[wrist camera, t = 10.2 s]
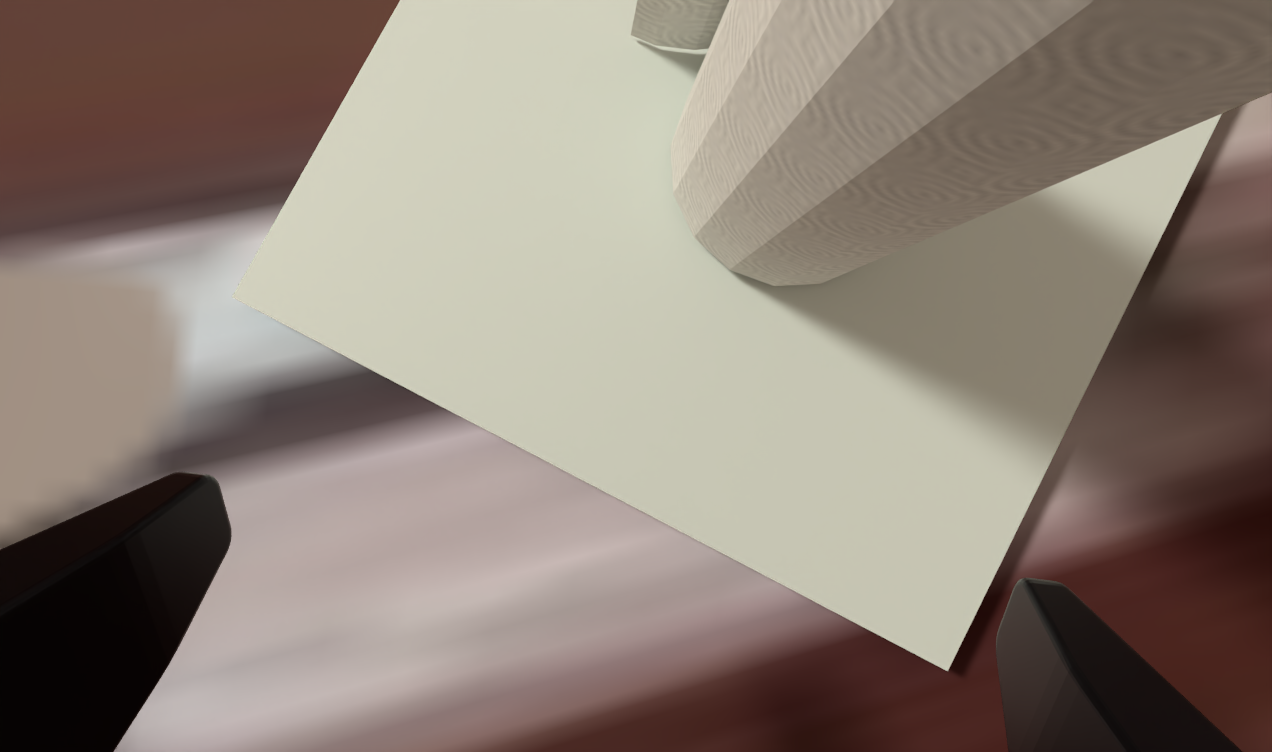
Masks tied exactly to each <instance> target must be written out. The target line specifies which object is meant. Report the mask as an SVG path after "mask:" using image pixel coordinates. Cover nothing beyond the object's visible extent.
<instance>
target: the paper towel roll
mask: <svg viewBox="0 0 1272 752" xmlns="http://www.w3.org/2000/svg"><path fill="white" fill-rule="evenodd" d="M631 35H632V36H634V37H636V38H639V39H641V40H643V41H646V42H648V43H651V44H653V45H656V46H665V47H673V48H682V49H691V50H699V49H708V48H709V49H708V51H707V54H706V56H705V58H704V61H703V63H702V65H701V68H700V70H699V72H698V75H697V77H696V79H695V82H694V84H693V86H692V89H691V91H690V93H689V96H688V98H687V100H686V103H685V106H684V109H683V112H682V114H681V117H680V120H679V123H678V126H677V129H676V131H675V134H674V137H673V140H672V143H671V146H670V147H671V165H672V182H673V194H674V197H675V199H676V201H677V203H678V205H679V207H680V209H681V211H682V213H683V215H684V218H685V220H686V222H687V224H688V226H689V228H690V230H691V232H692V234H693V237H694V238H695V239H696V240H697V241H698V242H700V243H701V244H702V245H703V246H704V247H705V248H706V249H707V250H708V251H709V252H710V253H712V254H713V255H714V256H715V257H716V258H717V259H718V260H719V261H720V262H721V263H722V264H724V265H725V266H726V267H727V268H728V269H729V270H731V271H734V272H737V273H740V274H742V275H745V276H748V277H750V278H753V279H756V280H759V281H761V282H764V283H767V284H770V285H772V286H786V285H808V284H821V283H824V282H826V281H828V280H831V279H833V278H835V277H838V276H840V275H843V274H845V273H847V272H850V271H852V270H854V269H857V268H859V267H861V266H864V265H866V264H868V263H871V262H873V261H876V260H878V259H880V258H883V257H885V256H887V255H890V254H892V253H894V252H897V251H899V250H902V249H904V248H906V247H909V246H911V245H913V244H916V243H918V242H920V241H923V240H925V239H927V238H930V237H932V236H935V235H937V234H939V233H942V232H944V231H946V230H949V229H951V228H953V227H956V226H958V225H960V224H963V223H965V222H968V221H970V220H972V219H975V218H977V217H979V216H982V215H984V214H986V213H989V212H991V211H993V210H996V209H998V208H1001V207H1003V206H1005V205H1008V204H1010V203H1012V202H1015V201H1017V200H1019V199H1022V198H1024V197H1026V196H1029V195H1031V194H1034V193H1036V192H1038V191H1041V190H1043V189H1045V188H1048V187H1050V186H1052V185H1055V184H1057V183H1059V182H1062V181H1064V180H1067V179H1069V178H1071V177H1074V176H1076V175H1078V174H1081V173H1083V172H1085V171H1088V170H1090V169H1092V168H1095V167H1097V166H1100V165H1102V164H1104V163H1107V162H1109V161H1111V160H1114V159H1116V158H1118V157H1121V156H1123V155H1125V154H1128V153H1130V152H1133V151H1135V150H1137V149H1140V148H1142V147H1144V146H1147V145H1149V144H1151V143H1154V142H1156V141H1158V140H1161V139H1163V138H1166V137H1168V136H1170V135H1173V134H1175V133H1177V132H1180V131H1182V130H1184V129H1187V128H1189V127H1191V126H1194V125H1196V124H1199V123H1201V122H1203V121H1206V120H1208V119H1210V118H1213V117H1215V116H1217V115H1220V114H1222V113H1224V112H1227V111H1229V110H1232V109H1234V108H1236V107H1239V106H1241V105H1243V104H1246V103H1248V102H1250V101H1253V100H1255V99H1257V98H1260V97H1262V96H1265V95H1267V94H1269V93H1272V0H637V5H636V10H635V15H634V21H633V26H632V31H631Z"/></svg>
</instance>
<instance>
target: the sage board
mask: <svg viewBox="0 0 1272 752" xmlns="http://www.w3.org/2000/svg"><path fill="white" fill-rule="evenodd" d="M636 5H637V0H400V2H399V3H398V5H397V7H396V9H395V10H394V12H393V14H392V16H391V17H390V19H389V21H388V23H387V25H386V26H385V28H384V30H383V32H382V33H381V35H380V37H379V39H378V40H377V42H376V44H375V46H374V47H373V49H372V51H371V53H370V54H369V56H368V58H367V60H366V62H365V63H364V65H363V67H362V69H361V70H360V72H359V74H358V76H357V77H356V79H355V81H354V83H353V84H352V86H351V88H350V90H349V92H348V93H347V95H346V97H345V99H344V100H343V102H342V104H341V106H340V107H339V109H338V111H337V113H336V114H335V116H334V118H333V120H332V121H331V123H330V125H329V127H328V129H327V130H326V132H325V134H324V136H323V137H322V139H321V141H320V143H319V144H318V146H317V148H316V150H315V151H314V153H313V155H312V157H311V159H310V160H309V162H308V164H307V166H306V167H305V169H304V171H303V173H302V174H301V176H300V178H299V180H298V181H297V183H296V185H295V187H294V188H293V190H292V192H291V194H290V196H289V197H288V199H287V201H286V203H285V204H284V206H283V208H282V210H281V211H280V213H279V215H278V217H277V218H276V220H275V222H274V224H273V226H272V227H271V229H270V231H269V233H268V234H267V236H266V238H265V240H264V241H263V243H262V245H261V247H260V248H259V250H258V252H257V254H256V255H255V257H254V259H253V261H252V263H251V264H250V266H249V268H248V270H247V271H246V273H245V275H244V277H243V278H242V280H241V282H240V284H239V285H238V287H237V289H236V291H235V293H234V294H233V296H232V297H233V298H235V299H237V300H238V301H240V302H242V303H244V304H246V305H248V306H250V307H252V308H254V309H256V310H258V311H260V312H261V313H263V314H265V315H267V316H269V317H271V318H273V319H275V320H277V321H279V322H281V323H282V324H284V325H286V326H288V327H290V328H292V329H294V330H296V331H298V332H300V333H302V334H304V335H305V336H307V337H309V338H311V339H313V340H315V341H317V342H319V343H321V344H323V345H325V346H326V347H328V348H330V349H332V350H334V351H336V352H338V353H340V354H342V355H344V356H346V357H348V358H349V359H351V360H353V361H355V362H357V363H359V364H361V365H363V366H365V367H367V368H369V369H370V370H372V371H374V372H376V373H378V374H380V375H382V376H384V377H386V378H388V379H390V380H392V381H393V382H395V383H397V384H399V385H401V386H403V387H405V388H407V389H409V390H411V391H413V392H414V393H416V394H418V395H420V396H422V397H424V398H426V399H428V400H430V401H432V402H434V403H435V404H437V405H439V406H441V407H443V408H445V409H447V410H449V411H451V412H453V413H455V414H457V415H458V416H460V417H462V418H464V419H466V420H468V421H470V422H472V423H474V424H476V425H478V426H479V427H481V428H483V429H485V430H487V431H489V432H491V433H493V434H495V435H497V436H499V437H501V438H502V439H504V440H506V441H508V442H510V443H512V444H514V445H516V446H518V447H520V448H522V449H523V450H525V451H527V452H529V453H531V454H533V455H535V456H537V457H539V458H541V459H543V460H545V461H546V462H548V463H550V464H552V465H554V466H556V467H558V468H560V469H562V470H564V471H566V472H567V473H569V474H571V475H573V476H575V477H577V478H579V479H581V480H583V481H585V482H587V483H589V484H590V485H592V486H594V487H596V488H598V489H600V490H602V491H604V492H606V493H608V494H610V495H611V496H613V497H615V498H617V499H619V500H621V501H623V502H625V503H627V504H629V505H631V506H632V507H634V508H636V509H638V510H640V511H642V512H644V513H646V514H648V515H650V516H652V517H654V518H655V519H657V520H659V521H661V522H663V523H665V524H667V525H669V526H671V527H673V528H675V529H676V530H678V531H680V532H682V533H684V534H686V535H688V536H690V537H692V538H694V539H696V540H698V541H699V542H701V543H703V544H705V545H707V546H709V547H711V548H713V549H715V550H717V551H719V552H720V553H722V554H724V555H726V556H728V557H730V558H732V559H734V560H736V561H738V562H740V563H742V564H743V565H745V566H747V567H749V568H751V569H753V570H755V571H757V572H759V573H761V574H763V575H764V576H766V577H768V578H770V579H772V580H774V581H776V582H778V583H780V584H782V585H784V586H786V587H787V588H789V589H791V590H793V591H795V592H797V593H799V594H801V595H803V596H805V597H807V598H808V599H810V600H812V601H814V602H816V603H818V604H820V605H822V606H824V607H826V608H828V609H829V610H831V611H833V612H835V613H837V614H839V615H841V616H843V617H845V618H847V619H849V620H851V621H852V622H854V623H856V624H858V625H860V626H862V627H864V628H866V629H868V630H870V631H872V632H873V633H875V634H877V635H879V636H881V637H883V638H885V639H887V640H889V641H891V642H893V643H895V644H896V645H898V646H900V647H902V648H904V649H906V650H908V651H910V652H912V653H914V654H916V655H917V656H919V657H921V658H923V659H925V660H927V661H929V662H931V663H933V664H935V665H937V666H939V667H940V668H942V669H944V670H946V671H948V670H949V668H950V666H951V664H952V661H953V659H954V657H955V655H956V653H957V651H958V649H959V647H960V645H961V643H962V641H963V639H964V637H965V635H966V633H967V631H968V629H969V627H970V625H971V623H972V621H973V619H974V617H975V615H976V613H977V611H978V609H979V607H980V605H981V603H982V601H983V598H984V596H985V594H986V592H987V590H988V588H989V586H990V584H991V582H992V580H993V578H994V576H995V574H996V572H997V570H998V568H999V566H1000V564H1001V562H1002V560H1003V558H1004V556H1005V554H1006V552H1007V550H1008V548H1009V546H1010V544H1011V542H1012V540H1013V537H1014V535H1015V533H1016V531H1017V529H1018V527H1019V525H1020V523H1021V521H1022V519H1023V517H1024V515H1025V513H1026V511H1027V509H1028V507H1029V505H1030V503H1031V501H1032V499H1033V497H1034V495H1035V493H1036V491H1037V489H1038V487H1039V485H1040V483H1041V481H1042V479H1043V476H1044V474H1045V472H1046V470H1047V468H1048V466H1049V464H1050V462H1051V460H1052V458H1053V456H1054V454H1055V452H1056V450H1057V448H1058V446H1059V444H1060V442H1061V440H1062V438H1063V436H1064V434H1065V432H1066V430H1067V428H1068V426H1069V424H1070V422H1071V420H1072V418H1073V416H1074V413H1075V411H1076V409H1077V407H1078V405H1079V403H1080V401H1081V399H1082V397H1083V395H1084V393H1085V391H1086V389H1087V387H1088V385H1089V383H1090V381H1091V379H1092V377H1093V375H1094V373H1095V371H1096V369H1097V367H1098V365H1099V363H1100V361H1101V359H1102V357H1103V355H1104V352H1105V350H1106V348H1107V346H1108V344H1109V342H1110V340H1111V338H1112V336H1113V334H1114V332H1115V330H1116V328H1117V326H1118V324H1119V322H1120V320H1121V318H1122V316H1123V314H1124V312H1125V310H1126V308H1127V306H1128V304H1129V302H1130V300H1131V298H1132V296H1133V294H1134V292H1135V289H1136V287H1137V285H1138V283H1139V281H1140V279H1141V277H1142V275H1143V273H1144V271H1145V269H1146V267H1147V265H1148V263H1149V261H1150V259H1151V257H1152V255H1153V253H1154V251H1155V249H1156V247H1157V245H1158V243H1159V241H1160V239H1161V237H1162V235H1163V233H1164V231H1165V228H1166V226H1167V224H1168V222H1169V220H1170V218H1171V216H1172V214H1173V212H1174V210H1175V208H1176V206H1177V204H1178V202H1179V200H1180V198H1181V196H1182V194H1183V192H1184V190H1185V188H1186V186H1187V184H1188V182H1189V180H1190V178H1191V176H1192V174H1193V172H1194V170H1195V168H1196V165H1197V163H1198V161H1199V159H1200V157H1201V155H1202V153H1203V151H1204V149H1205V147H1206V145H1207V143H1208V141H1209V139H1210V137H1211V135H1212V133H1213V131H1214V129H1215V127H1216V125H1217V123H1218V121H1219V119H1220V117H1221V115H1222V114H1220V115H1217V116H1215V117H1213V118H1210V119H1208V120H1206V121H1203V122H1201V123H1199V124H1196V125H1194V126H1191V127H1189V128H1187V129H1184V130H1182V131H1180V132H1177V133H1175V134H1173V135H1170V136H1168V137H1166V138H1163V139H1161V140H1158V141H1156V142H1154V143H1151V144H1149V145H1147V146H1144V147H1142V148H1140V149H1137V150H1135V151H1133V152H1130V153H1128V154H1125V155H1123V156H1121V157H1118V158H1116V159H1114V160H1111V161H1109V162H1107V163H1104V164H1102V165H1100V166H1097V167H1095V168H1092V169H1090V170H1088V171H1085V172H1083V173H1081V174H1078V175H1076V176H1074V177H1071V178H1069V179H1067V180H1064V181H1062V182H1059V183H1057V184H1055V185H1052V186H1050V187H1048V188H1045V189H1043V190H1041V191H1038V192H1036V193H1034V194H1031V195H1029V196H1026V197H1024V198H1022V199H1019V200H1017V201H1015V202H1012V203H1010V204H1008V205H1005V206H1003V207H1001V208H998V209H996V210H993V211H991V212H989V213H986V214H984V215H982V216H979V217H977V218H975V219H972V220H970V221H968V222H965V223H963V224H960V225H958V226H956V227H953V228H951V229H949V230H946V231H944V232H942V233H939V234H937V235H935V236H932V237H930V238H927V239H925V240H923V241H920V242H918V243H916V244H913V245H911V246H909V247H906V248H904V249H902V250H899V251H897V252H894V253H892V254H890V255H887V256H885V257H883V258H880V259H878V260H876V261H873V262H871V263H868V264H866V265H864V266H861V267H859V268H857V269H854V270H852V271H850V272H847V273H845V274H843V275H840V276H838V277H835V278H833V279H831V280H828V281H826V282H824V283H821V284H808V285H786V286H772V285H770V284H767V283H764V282H761V281H759V280H756V279H753V278H750V277H748V276H745V275H742V274H740V273H737V272H734V271H731V270H729V269H728V268H727V267H726V266H725V265H724V264H722V263H721V262H720V261H719V260H718V259H717V258H716V257H715V256H714V255H713V254H712V253H710V252H709V251H708V250H707V249H706V248H705V247H704V246H703V245H702V244H701V243H700V242H698V241H697V240H696V239H695V238H694V237H693V234H692V232H691V230H690V228H689V226H688V224H687V222H686V220H685V218H684V215H683V213H682V211H681V209H680V207H679V205H678V203H677V201H676V199H675V197H674V194H673V182H672V165H671V147H670V146H671V143H672V140H673V137H674V134H675V131H676V129H677V126H678V123H679V120H680V117H681V114H682V112H683V109H684V106H685V103H686V100H687V98H688V96H689V93H690V91H691V89H692V86H693V84H694V82H695V79H696V77H697V75H698V72H699V70H700V68H701V65H702V63H703V61H704V58H705V56H706V54H707V51H708V49H709V48H708V49H699V50H691V49H682V48H673V47H665V46H656V45H653V44H651V43H648V42H646V41H643V40H641V39H639V38H636V37H634V36H632V35H631V31H632V26H633V21H634V15H635V10H636Z"/></svg>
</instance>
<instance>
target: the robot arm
mask: <svg viewBox="0 0 1272 752" xmlns="http://www.w3.org/2000/svg"><path fill="white" fill-rule="evenodd" d="M230 542H231V525H230V522H229V518H228V514H227V511H226V507H225V504H224V500H223V496H222V493H221V489H220V486H219V483H218V482H217V480H216V479H215V478H214V477H212V476H210V475H207V474H199V473H191V472H175V473H173V474H170V475H168V476H166V477H163V478H161V479H159V480H157V481H154V482H152V483H150V484H148V485H145V486H143V487H141V488H139V489H136V490H134V491H132V492H130V493H127V494H125V495H123V496H121V497H118V498H116V499H114V500H112V501H109V502H107V503H105V504H102V505H100V506H98V507H96V508H93V509H91V510H89V511H87V512H84V513H82V514H80V515H78V516H75V517H73V518H71V519H69V520H66V521H64V522H62V523H60V524H57V525H55V526H53V527H51V528H48V529H46V530H44V531H42V532H39V533H37V534H35V535H33V536H30V537H28V538H26V539H23V540H21V541H19V542H17V543H14V544H12V545H10V546H8V547H5V548H3V549H1V550H0V752H113V751H114V750H115V748H116V747H117V745H118V744H119V742H120V741H121V739H122V737H123V736H124V734H125V733H126V731H127V730H128V728H129V727H130V725H131V724H132V722H133V720H134V719H135V717H136V716H137V714H138V713H139V711H140V710H141V708H142V706H143V705H144V703H145V702H146V700H147V699H148V697H149V696H150V694H151V692H152V691H153V689H154V688H155V686H156V685H157V683H158V681H159V680H160V678H161V677H162V675H163V673H164V672H165V670H166V668H167V667H168V665H169V663H170V661H171V660H172V658H173V656H174V654H175V652H176V651H177V649H178V647H179V645H180V643H181V641H182V639H183V637H184V635H185V633H186V632H187V630H188V628H189V626H190V624H191V622H192V620H193V618H194V616H195V614H196V612H197V610H198V608H199V606H200V604H201V602H202V600H203V598H204V596H205V594H206V592H207V590H208V588H209V586H210V585H211V583H212V581H213V579H214V577H215V575H216V573H217V571H218V569H219V567H220V565H221V563H222V561H223V559H224V557H225V555H226V553H227V551H228V549H229V546H230ZM996 656H997V664H998V672H999V680H1000V688H1001V696H1002V704H1003V712H1004V719H1005V727H1006V735H1007V743H1008V751H1009V752H1242V751H1241V750H1240V749H1239V748H1238V747H1237V746H1236V745H1235V744H1234V743H1233V742H1232V741H1231V740H1229V739H1228V738H1227V737H1226V736H1225V735H1224V734H1223V733H1222V732H1221V731H1220V730H1219V729H1218V728H1217V727H1216V726H1215V725H1213V724H1212V723H1211V722H1210V721H1209V720H1208V719H1207V718H1206V717H1205V716H1204V715H1203V714H1202V713H1201V712H1200V711H1199V710H1198V709H1196V708H1195V707H1194V706H1193V705H1192V704H1191V703H1190V702H1189V701H1188V700H1187V699H1186V698H1185V697H1184V696H1183V695H1182V694H1180V693H1179V692H1178V691H1177V690H1176V689H1175V688H1174V687H1173V686H1172V685H1171V684H1170V683H1169V682H1168V681H1167V680H1166V679H1165V678H1163V677H1162V676H1161V675H1160V674H1159V673H1158V672H1157V671H1156V670H1155V669H1154V668H1153V667H1152V666H1151V665H1150V664H1149V663H1147V662H1146V661H1145V660H1144V659H1143V658H1142V657H1141V656H1140V655H1139V654H1138V653H1137V652H1136V651H1135V650H1134V649H1133V648H1132V647H1130V646H1129V645H1128V644H1127V643H1126V642H1125V641H1124V640H1123V639H1122V638H1121V637H1120V636H1119V635H1118V634H1117V633H1116V632H1115V631H1113V630H1112V629H1111V628H1110V627H1109V626H1108V625H1107V624H1106V623H1105V622H1104V621H1103V620H1102V619H1101V618H1100V617H1099V616H1097V615H1096V614H1095V613H1094V612H1093V611H1092V610H1091V609H1090V608H1089V607H1088V606H1087V605H1086V604H1085V603H1084V602H1083V601H1082V600H1080V599H1079V598H1078V597H1077V596H1076V595H1075V594H1074V593H1073V592H1072V591H1071V590H1070V589H1069V588H1068V587H1066V586H1065V585H1064V584H1062V583H1059V582H1056V581H1049V580H1041V579H1033V578H1023V579H1021V580H1019V581H1018V582H1017V583H1016V585H1015V587H1014V589H1013V592H1012V594H1011V597H1010V600H1009V603H1008V605H1007V608H1006V611H1005V614H1004V616H1003V619H1002V622H1001V624H1000V627H999V630H998V634H997V640H996Z"/></svg>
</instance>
